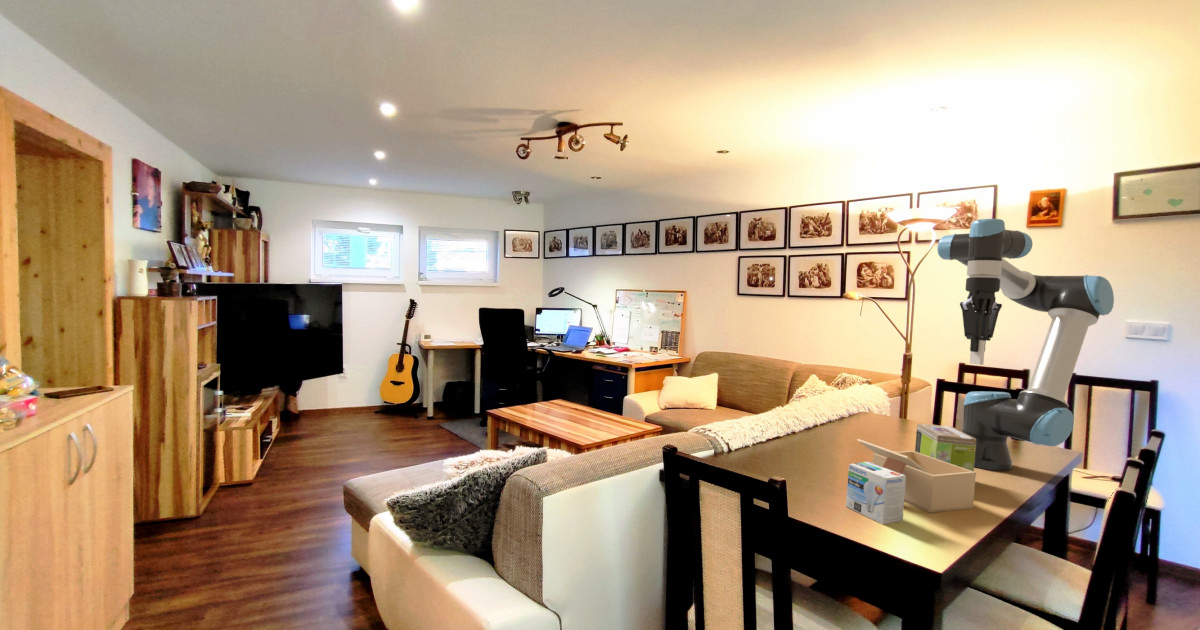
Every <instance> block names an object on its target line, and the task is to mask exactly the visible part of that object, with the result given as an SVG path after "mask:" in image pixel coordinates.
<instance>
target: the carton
mask: <svg viewBox="0 0 1200 630" xmlns="http://www.w3.org/2000/svg"><path fill="white" fill-rule="evenodd" d="M896 452H897V453H900V454H902V455H905V456H908V457H909V458H911V459H912V460H913V461H915V462H916V463H917V464H919V465H920V466H922V467H923V468H924V469H926V470H927V472H923V471H921V470H918V469H915V468H913V467H910V466H907V465H906V466H905V468H904V470H903V472H902V474H903V475H906V483H905V495H904V503H908V504H910V505H911V506H914V507H916V508H919V509H921V510H923V511H925V512H928V513H930V514H933V513H943V512H950V511H951V512H953V511H960V510H968V509H969V510H970V509H974V502H975V501H974V500H975V489H976V487H975V485H976V475H977V472H976V471H974V472H973V471H970V470H967V469H965V468H962V467H959V466H956V465H953V464H950V463H947V462H944V461H941V460H938V459H935V458H932V457H929V456H927V455H924V454H921V453H918V452H915V450H904V451H903V450H901V451H896ZM872 453H873V454H872V463H873V464H875V465H878V466H881V467H883V465H884V463H885V461H886V459H887V458H886V457H884V456H881V455H878V454H876V453H874V452H872Z"/></svg>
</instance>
